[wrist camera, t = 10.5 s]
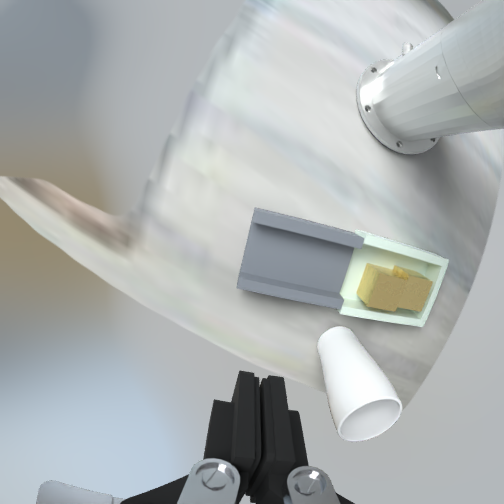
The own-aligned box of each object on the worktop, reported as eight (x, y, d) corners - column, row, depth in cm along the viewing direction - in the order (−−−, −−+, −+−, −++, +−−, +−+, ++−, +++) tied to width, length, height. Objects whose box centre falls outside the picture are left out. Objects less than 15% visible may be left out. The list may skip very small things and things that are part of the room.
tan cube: (394, 265, 32) (409, 275, 28) (417, 271, 32) (433, 281, 28) (383, 294, 33) (397, 307, 29) (406, 299, 33) (421, 311, 29)
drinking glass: (368, 329, 34) (416, 402, 20) (340, 366, 36) (372, 445, 21) (328, 311, 34) (368, 390, 19) (301, 352, 35) (322, 438, 21)
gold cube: (366, 262, 32) (379, 273, 28) (392, 269, 32) (407, 280, 28) (356, 293, 32) (367, 306, 29) (382, 298, 33) (395, 311, 29)
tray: (355, 228, 31) (366, 234, 28) (435, 253, 32) (449, 260, 28) (332, 301, 33) (339, 314, 30) (411, 316, 34) (423, 327, 31)
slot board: (254, 207, 30) (254, 210, 27) (354, 233, 31) (364, 238, 28) (238, 278, 33) (236, 288, 29) (333, 298, 33) (340, 309, 30)
